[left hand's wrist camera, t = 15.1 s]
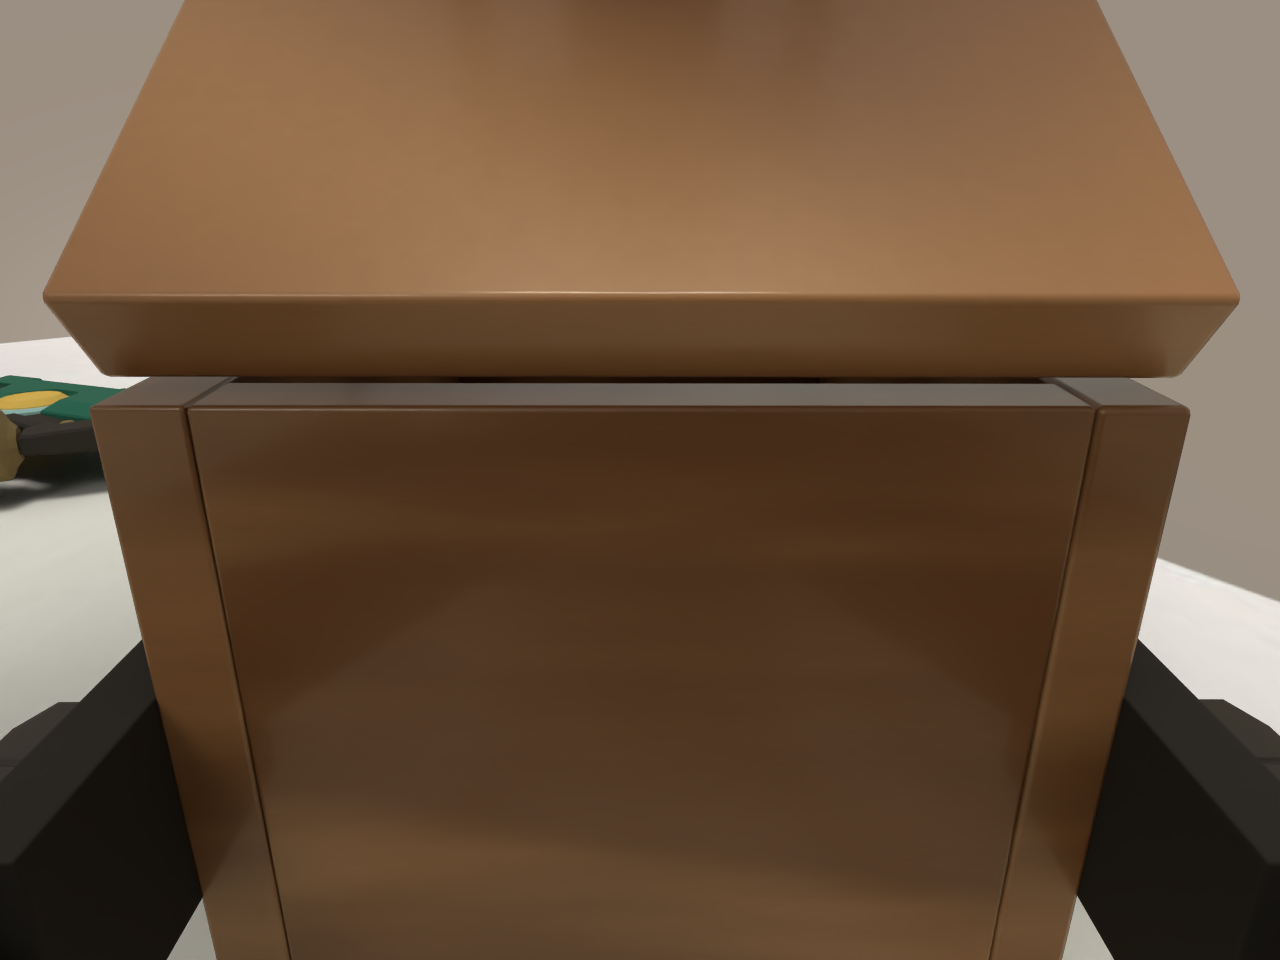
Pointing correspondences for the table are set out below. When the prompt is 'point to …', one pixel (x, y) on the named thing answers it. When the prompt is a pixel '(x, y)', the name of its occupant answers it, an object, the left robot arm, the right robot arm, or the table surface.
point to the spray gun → (45, 419)
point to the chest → (639, 656)
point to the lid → (641, 196)
